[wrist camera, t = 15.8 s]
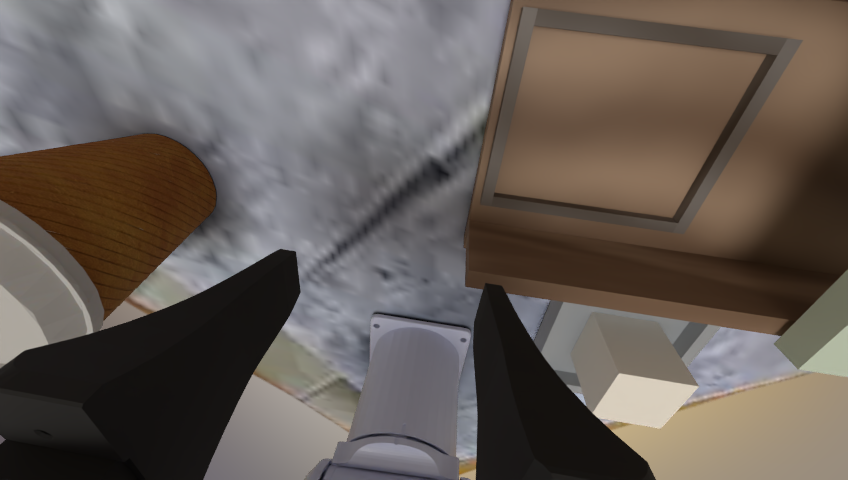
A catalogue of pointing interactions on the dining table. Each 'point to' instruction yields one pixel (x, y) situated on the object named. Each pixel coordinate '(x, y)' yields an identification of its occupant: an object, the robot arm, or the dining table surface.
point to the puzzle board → (667, 158)
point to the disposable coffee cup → (89, 231)
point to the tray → (570, 319)
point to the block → (630, 371)
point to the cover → (821, 334)
